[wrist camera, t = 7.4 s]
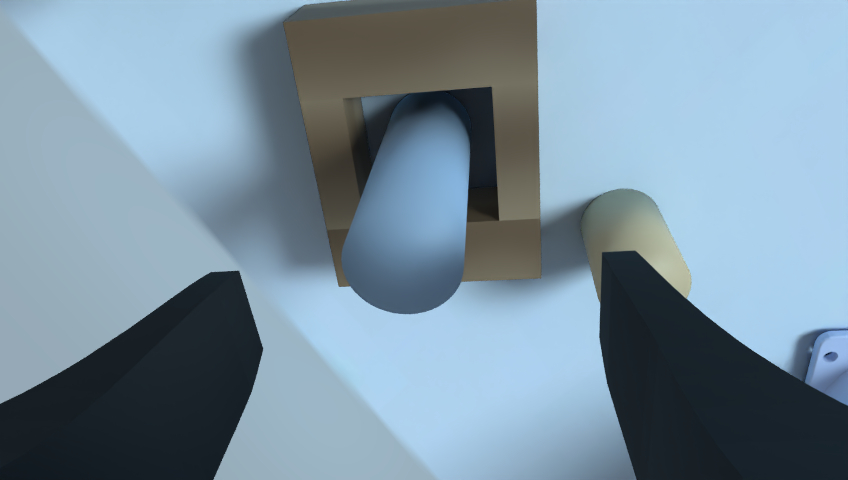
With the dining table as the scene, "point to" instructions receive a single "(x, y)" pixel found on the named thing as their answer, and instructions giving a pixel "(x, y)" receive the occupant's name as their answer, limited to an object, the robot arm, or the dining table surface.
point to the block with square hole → (423, 72)
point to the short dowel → (632, 236)
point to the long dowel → (413, 209)
